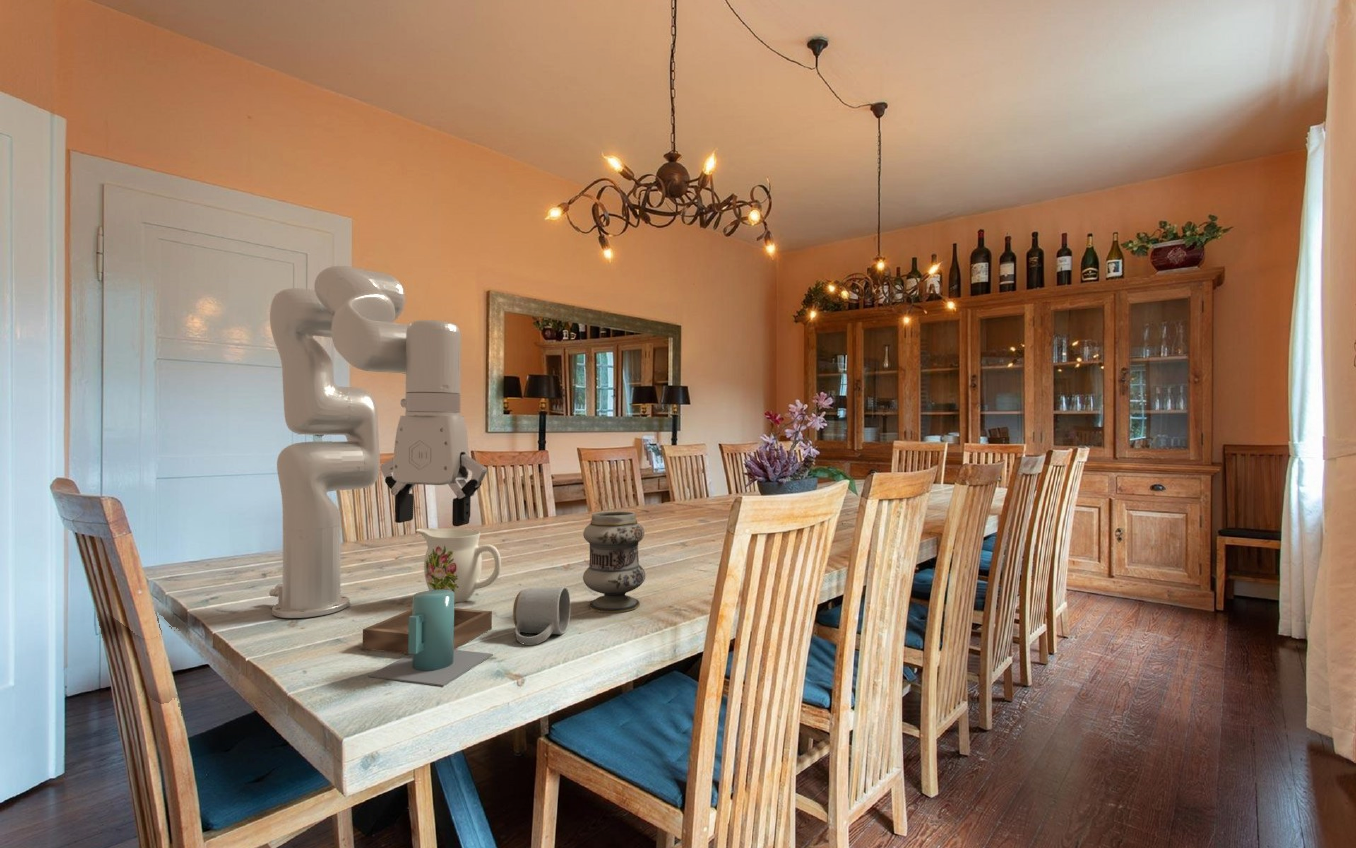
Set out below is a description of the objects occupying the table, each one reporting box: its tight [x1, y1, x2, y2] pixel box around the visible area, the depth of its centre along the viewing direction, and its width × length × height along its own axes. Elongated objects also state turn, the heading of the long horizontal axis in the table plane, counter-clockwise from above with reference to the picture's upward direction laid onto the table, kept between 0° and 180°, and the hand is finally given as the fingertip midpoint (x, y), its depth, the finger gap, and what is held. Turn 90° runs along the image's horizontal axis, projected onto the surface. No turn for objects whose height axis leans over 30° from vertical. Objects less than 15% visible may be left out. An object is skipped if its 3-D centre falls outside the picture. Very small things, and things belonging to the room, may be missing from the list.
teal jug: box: [408, 589, 455, 671], centre depth 91 cm, size 7×6×10 cm
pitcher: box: [415, 528, 502, 604], centre depth 127 cm, size 11×18×14 cm, turn 82°
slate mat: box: [367, 649, 494, 687], centre depth 91 cm, size 12×12×1 cm
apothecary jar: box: [582, 510, 646, 614], centre depth 122 cm, size 12×12×18 cm
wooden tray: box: [362, 607, 493, 655], centre depth 103 cm, size 14×14×3 cm
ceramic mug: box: [512, 585, 571, 645], centre depth 105 cm, size 11×8×8 cm
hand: (432, 523), depth 92 cm, fingers open, 9 cm apart
